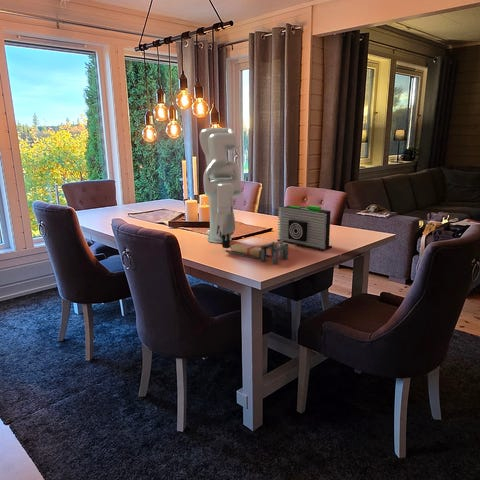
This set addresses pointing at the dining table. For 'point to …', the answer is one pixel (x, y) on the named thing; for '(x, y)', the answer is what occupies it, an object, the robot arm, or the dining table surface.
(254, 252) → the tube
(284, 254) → the collar rig
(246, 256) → the guide
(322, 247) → the electronic device
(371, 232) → the dining table surface
